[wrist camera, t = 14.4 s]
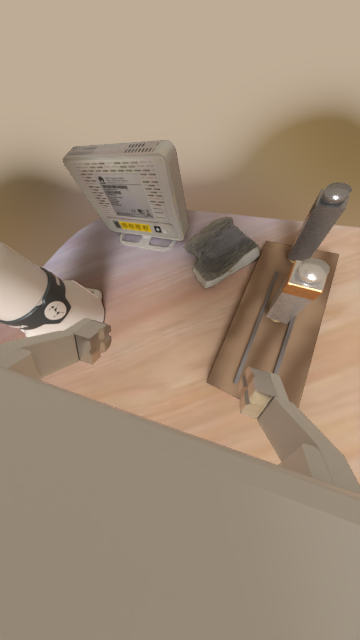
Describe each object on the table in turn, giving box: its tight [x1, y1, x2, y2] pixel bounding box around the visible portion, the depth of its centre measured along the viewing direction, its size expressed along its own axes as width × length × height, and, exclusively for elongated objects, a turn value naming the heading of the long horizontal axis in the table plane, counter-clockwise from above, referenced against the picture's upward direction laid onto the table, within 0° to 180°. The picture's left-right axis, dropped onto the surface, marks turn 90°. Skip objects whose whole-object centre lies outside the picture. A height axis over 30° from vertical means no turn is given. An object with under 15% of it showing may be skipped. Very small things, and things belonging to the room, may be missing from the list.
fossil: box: [184, 217, 260, 289], centre depth 41 cm, size 15×16×4 cm
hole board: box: [207, 241, 339, 408], centre depth 32 cm, size 14×34×3 cm, turn 153°
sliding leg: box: [266, 258, 330, 324], centre depth 25 cm, size 4×4×13 cm
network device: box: [63, 140, 189, 252], centre depth 41 cm, size 26×9×20 cm, turn 68°
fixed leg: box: [287, 183, 352, 261], centre depth 29 cm, size 4×4×13 cm
